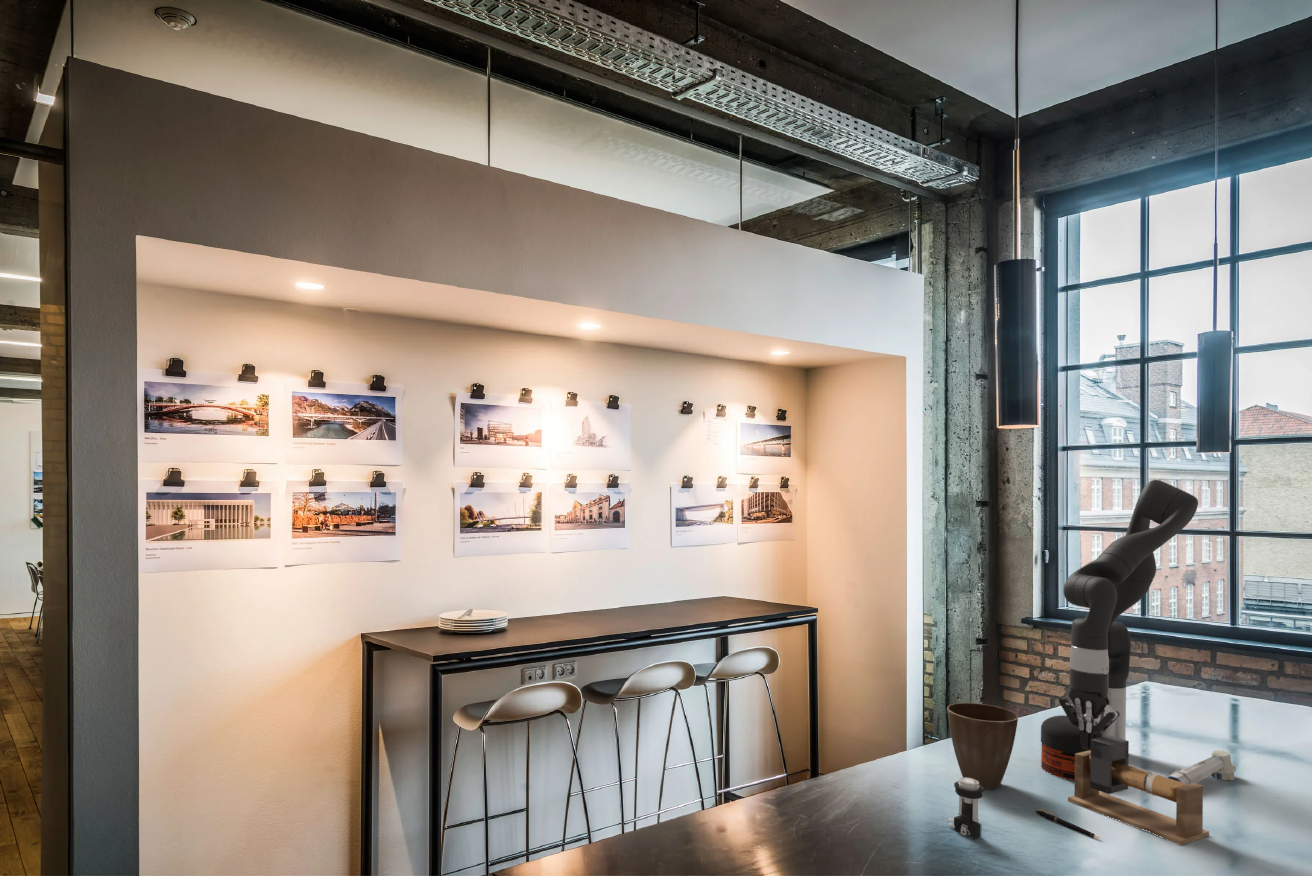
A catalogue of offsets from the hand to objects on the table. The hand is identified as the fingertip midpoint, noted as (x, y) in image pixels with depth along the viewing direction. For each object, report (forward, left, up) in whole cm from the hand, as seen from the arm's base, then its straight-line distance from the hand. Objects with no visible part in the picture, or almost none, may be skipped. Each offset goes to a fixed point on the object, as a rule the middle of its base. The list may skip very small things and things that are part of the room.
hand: (1088, 748), depth 176 cm
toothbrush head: (+6, +35, -11) cm, 37 cm away
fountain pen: (+7, -17, -11) cm, 22 cm away
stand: (+10, 0, -11) cm, 15 cm away
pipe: (+10, 0, -5) cm, 11 cm away
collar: (+5, 0, -7) cm, 8 cm away
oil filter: (-12, +13, -11) cm, 21 cm away
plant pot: (-16, -14, -11) cm, 24 cm away
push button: (0, -39, -11) cm, 40 cm away
